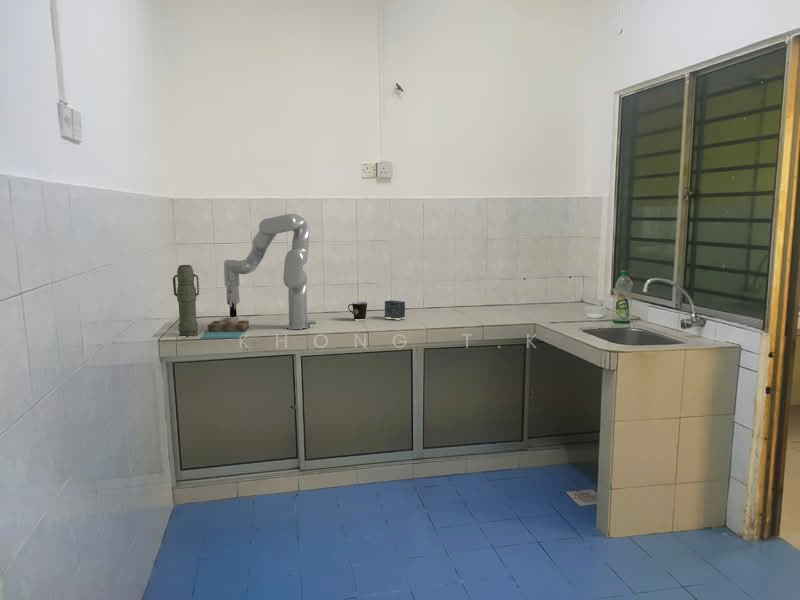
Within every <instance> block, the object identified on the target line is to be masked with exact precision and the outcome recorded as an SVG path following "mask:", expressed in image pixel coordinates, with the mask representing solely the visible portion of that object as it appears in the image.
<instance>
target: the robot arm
mask: <svg viewBox="0 0 800 600" xmlns="http://www.w3.org/2000/svg"><path fill="white" fill-rule="evenodd" d="M258 229H259V230H258V231H257V233H256V235H255V236H254V238H252V241H251V244H252V248H251V250H250V252H249V254H248V255H247V257H246V258H245V259H242V260H241V259H240V260H237V259H225V260H224V261H223V273H224V274H223V275H224V277H223V278H224V287H226V304H227V305H228V306H229V317H238V316H237V315H238V314H237V305H238V304H239V303H240V302H241V301H240V300H241V298H240V289H239V286H240V275H247V274H250V273H253V272H255V271H256V270H257V268H258V267H259V265H260V264H261V262H262V261H263V259H264V256H265V254H266V252H267V249H268V248H269V246H270V245H271V243H272V242H273V240H274V239H275V238H276V236H277V234H281V233H286V232H291V231H292V232H293V236H292V241H291V242H292V244H291V250H288V251H287V253H286V255H285V259H284V266H283V276H282V277H283V280H282V281H283V284H284V285H285V287H287V288H288V290H287V291H288V324H286V326H285V327H286V329H287V328H288V330H293V329H300V330H304V329H303V328H307V329H309V328H311V325H316V320H313V319H312V320H310V319H309V318H308V307H307V305H308V303H307V302H308V301H307V299H308V298H307V292H308V290H307V289H308V288H307V286H308V276H307V273H306V271H305V270H303V268H304V265H306V264H307V261H308V258H309V257H308V255H309V246H310V233H311V232H310V225H309V224H308V222H307V221H306V220H305V219H304V217H302V216H301V215H299V214H296V213H286V214H282V215H278V216H273V217H268V218H263V219H262V220H261V221H260V222H259V224H258ZM308 327H309V328H308Z"/></svg>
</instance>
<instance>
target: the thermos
mask: <svg viewBox="0 0 800 600" xmlns="http://www.w3.org/2000/svg"><path fill="white" fill-rule="evenodd" d="M176 278H177V283H176ZM195 278H196V286H195ZM172 284H173V285H172V286H173V287H172V288H173V295H174V296H175V297H177V298H176V299H177V303H178V314H179V316H178V319H179V322H178V332H179V337H181V336H186V337H185V338H189V337H188V336H192V337H195V335H196V336H198V335H199V333H198V332H199V331H198V330H199V326H198V320H197V309H196V308H197V307H196V304H197V303H196V301H197V297H198V296H199V295H200V288H199V276H198V275H197V274H195V273H194V269H193V267H192V265H190V264H180V265H178V268H177V271H176V274H175V275H174V276H173V277H172ZM196 290H197V291H196Z"/></svg>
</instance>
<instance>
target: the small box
mask: <svg viewBox="0 0 800 600" xmlns="http://www.w3.org/2000/svg"><path fill="white" fill-rule="evenodd" d="M405 305H406V302H405V301H401V300H384V318H385V317H391V318H403V317H405V318H406V309H405V308H406V306H405Z"/></svg>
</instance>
